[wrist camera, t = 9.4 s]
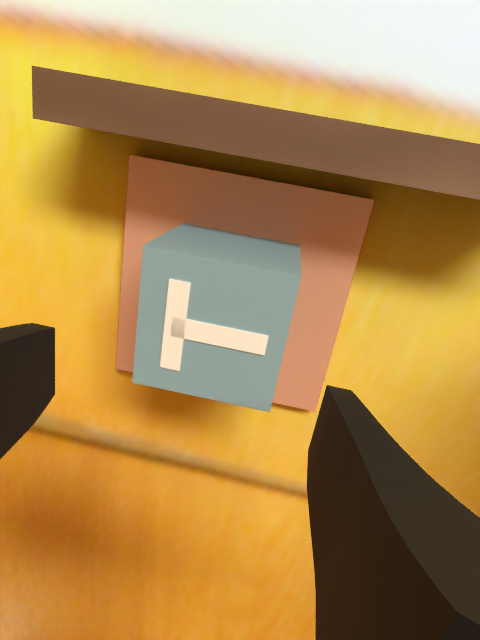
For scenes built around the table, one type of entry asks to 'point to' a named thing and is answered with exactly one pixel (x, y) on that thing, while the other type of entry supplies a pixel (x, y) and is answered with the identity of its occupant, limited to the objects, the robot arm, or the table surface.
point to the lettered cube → (215, 314)
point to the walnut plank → (258, 132)
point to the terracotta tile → (260, 221)
